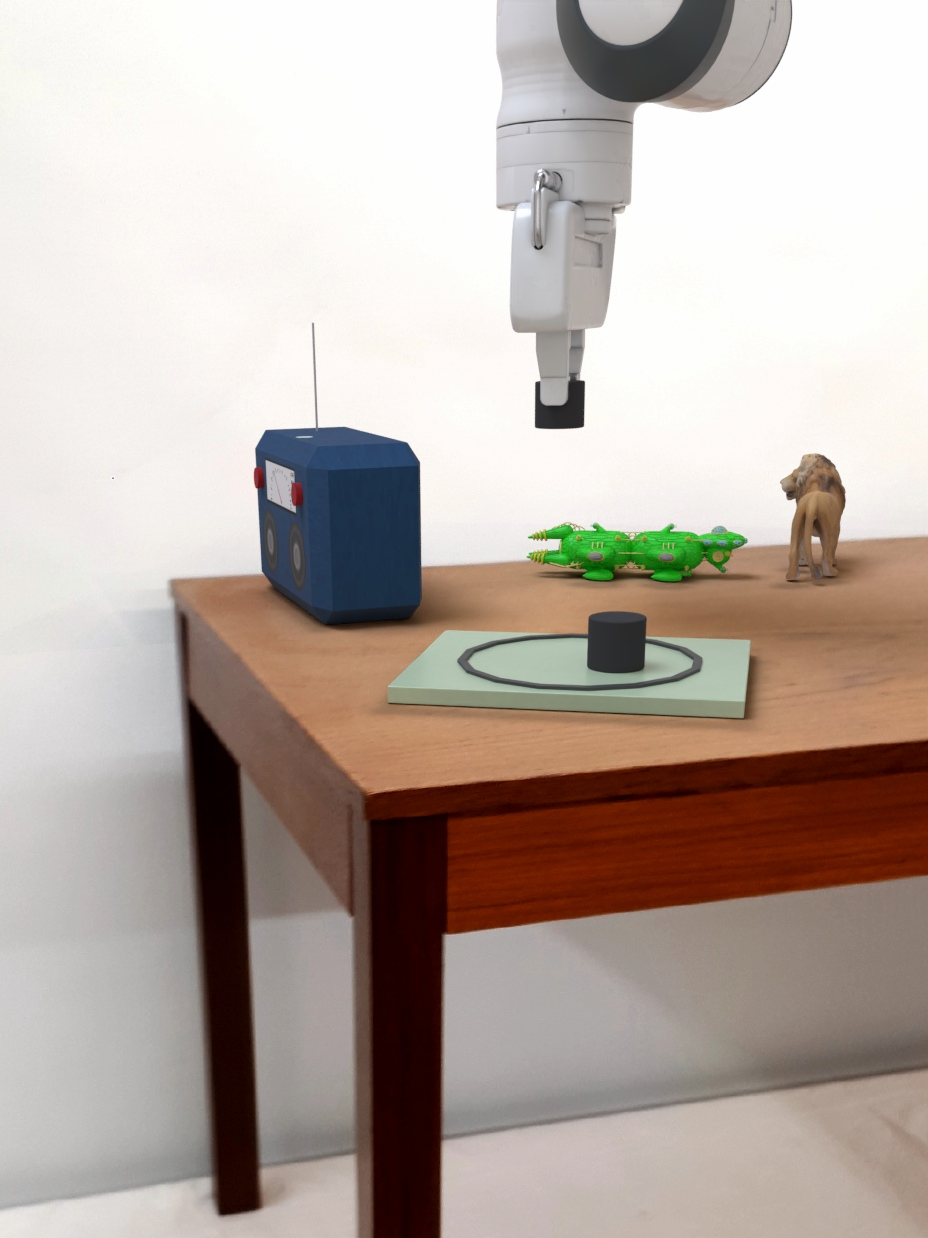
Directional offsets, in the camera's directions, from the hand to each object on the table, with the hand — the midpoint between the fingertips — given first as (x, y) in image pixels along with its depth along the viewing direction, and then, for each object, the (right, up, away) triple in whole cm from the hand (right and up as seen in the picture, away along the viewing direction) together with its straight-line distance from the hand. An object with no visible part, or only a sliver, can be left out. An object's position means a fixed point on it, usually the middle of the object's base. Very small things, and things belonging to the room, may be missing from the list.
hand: (560, 403), depth 101 cm
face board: (0, -21, -12) cm, 24 cm away
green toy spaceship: (+8, -7, +22) cm, 24 cm away
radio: (-16, -11, +13) cm, 23 cm away
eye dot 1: (0, -1, +1) cm, 2 cm away
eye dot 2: (+2, -20, -14) cm, 24 cm away
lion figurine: (+23, -6, +23) cm, 33 cm away
